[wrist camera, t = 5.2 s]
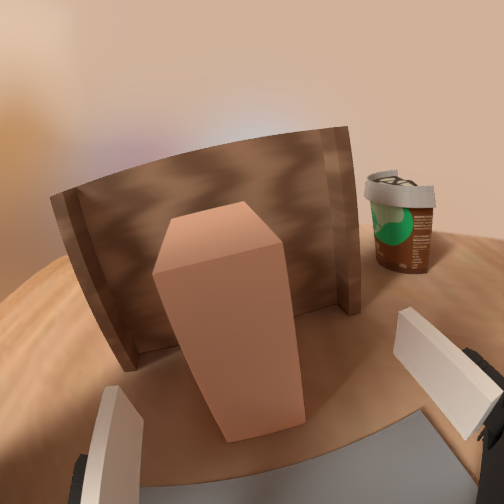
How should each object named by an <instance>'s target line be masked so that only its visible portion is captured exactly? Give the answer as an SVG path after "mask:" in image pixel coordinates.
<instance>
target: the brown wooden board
mask: <svg viewBox="0 0 504 504" xmlns="http://www.w3.org/2000/svg"><path fill="white" fill-rule="evenodd" d="M50 200H51V204H52V207H53V211H54V214H55V217H56V221H57V224H58V227H59V230H60V233H61V236H62V239H63V242H64V245H65V248H66V250H67V253H68V256H69V259H70V261H71V264H72V267H73V269H74V272H75V274H76V277H77V279H78V281H79V284H80V286H81V288H82V291H83V293H84V295H85V298H86V300H87V302H88V304H89V306H90V308H91V310H92V313H93V315H94V317H95V319H96V321H97V323H98V325H99V327H100V329H101V331H102V333H103V335H104V336H105V338H106V340H107V342H108V344H109V346H110V348H111V349H112V351H113V353H114V355H115V356H116V358H117V360H118V362H119V363H120V365H121V367H122V368H123V370H124V372H128V371H134V370H136V368H137V363H138V358H139V353H142V352H147V351H153V350H158V349H163V348H168V347H173V346H178V345H179V343H178V340H177V338H176V336H175V333H174V331H173V328H172V326H171V323H170V321H169V318H168V316H167V313H166V311H165V308H164V306H163V303H162V300H161V298H160V295H159V292H158V290H157V287H156V284H155V281H154V278H153V276H152V273H153V270H154V267H155V264H156V261H157V258H158V255H159V252H160V249H161V246H162V243H163V240H164V238H165V235H166V232H167V229H168V227H169V224H170V221H171V219H173V218H177V217H181V216H184V215H188V214H192V213H196V212H200V211H204V210H209V209H213V208H217V207H221V206H225V205H230V204H234V203H238V202H243V201H244V202H245V203H246V204H247V205H248V206H249V207H250V208H251V209H252V210H253V211H254V212H255V213H256V214H257V215H258V216H259V217H260V219H261V220H262V221H263V222H264V223H265V224H266V225H267V226H268V227H269V228H270V229H271V230H272V231H273V232H274V233H275V235H276V236H277V237H278V238H279V239H280V240H281V241H282V242H283V248H284V254H285V261H286V268H287V274H288V281H289V288H290V295H291V302H292V309H293V317H294V316H297V315H300V314H304V313H307V312H310V311H314V310H317V309H320V308H323V307H326V306H329V305H333V304H336V303H338V304H339V305H340V306H341V307H342V309H343V310H344V311H345V312H346V313H347V314H348V315H349V316H351V315H354V314H357V313H359V312H360V311H361V268H360V239H359V222H358V208H357V196H356V186H355V177H354V169H353V160H352V152H351V145H350V138H349V131H348V126H344V127H333V128H325V129H317V130H308V131H300V132H293V133H286V134H278V135H272V136H266V137H260V138H254V139H248V140H243V141H237V142H232V143H227V144H223V145H218V146H213V147H209V148H204V149H200V150H196V151H191V152H187V153H183V154H179V155H175V156H171V157H168V158H164V159H160V160H157V161H153V162H150V163H147V164H143V165H140V166H136V167H133V168H130V169H127V170H124V171H121V172H117V173H114V174H112V175H108V176H105V177H102V178H99V179H97V180H94V181H91V182H88V183H86V184H83V185H80V186H78V187H75V188H72V189H69V190H67V191H64V192H61V193H59V194H56V195H54V196H51V197H50Z"/></svg>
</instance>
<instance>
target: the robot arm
mask: <svg viewBox="0 0 504 504" xmlns="http://www.w3.org/2000/svg"><path fill="white" fill-rule="evenodd" d="M393 354H394V355H395V357H396V358H397V359H398V360H399V361H400V362H401V363H402V365H403V366H404V367H405V368H406V369H407V370H408V372H409V373H410V374H411V375H412V376H413V377H414V379H415V380H416V381H417V382H418V383H419V385H420V386H421V387H422V388H423V389H424V390H425V392H426V393H427V394H428V395H429V396H430V398H431V399H432V400H433V401H434V403H435V404H436V405H437V406H438V407H439V409H440V410H441V411H442V412H443V413H444V415H445V416H446V417H447V418H448V420H449V421H450V422H451V423H452V425H453V426H454V427H455V428H456V430H457V431H458V432H459V433H460V435H461V436H462V437H463V439H464V440H465V441H466V440H467V439H469V438H470V437H471V436H472V435H474V434H475V433H476V432H477V431H478V430H479V428H480V427H481V426H482V424H484V425H485V428H484V429H483V431H482V432H481V433H480V435H479V436H478V439H477V441H479V440H480V439H481V438H482V437H483V435H484V438H483V439H482V441H483V454H482V464H481V473H480V480H479V486H478V492H477V498H476V503H475V504H504V377H503V376H502V375H501V374H500V373H499V372H498V371H497V370H495V369H494V368H493V367H492V366H491V365H489V363H488V362H487V361H486V360H484V358H482V357H481V356H480V355H479V354H478V353H477V352H475V351H473V350H471V349H469V348H465V349H464V350H462V351H461V350H460V349H459V348H458V347H457V346H456V345H454V344H453V343H452V342H451V341H450V340H449V339H448V338H447V337H446V336H444V335H443V334H442V333H441V332H440V331H439V330H438V329H437V328H435V327H434V326H433V325H432V324H431V323H430V322H428V321H427V320H426V319H425V318H424V317H423V316H421V315H420V314H419V313H418V312H417V311H416V310H414V309H413V308H412V307H411V306H410V307H408V308H406V309H403V310H401V311H399V312H398V321H397V329H396V336H395V343H394V349H393ZM143 427H144V420H143V418H142V417H141V416H140V414H139V413H138V412H137V410H136V409H135V408H134V406H133V405H132V403H131V402H130V401H129V399H128V398H127V396H126V395H125V393H124V392H123V390H122V389H121V388H120V386H119V385H115V386H105V388H104V391H103V395H102V399H101V403H100V406H99V410H98V414H97V418H96V422H95V427H94V431H93V435H92V440H91V445H90V449H89V454H88V455H84V454H81V455H80V456H79V458H78V460H77V461H76V463H75V467H74V472H73V474H74V476H73V477H72V484H71V488H70V494H69V501H68V504H139V487H140V466H141V451H142V438H143Z"/></svg>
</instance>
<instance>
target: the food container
mask: <svg viewBox="0 0 504 504" xmlns="http://www.w3.org/2000/svg"><path fill="white" fill-rule="evenodd" d="M364 197H365V198H366V199H368V200H369V201H370V204H371V210H372V219H373V228H374V237H375V248H376V258H377V261H378V262H379V263H380V264H381V265H382V266H384V267H385V268H387V269H390V270H393V271H396V272H400V273H407V274H423V273H427V267H428V260H429V252H430V242H431V232H432V218H433V208H434V207H436V202H435V193H434V188H433V186H417V185H416V184H415V183H414V182H413V181H410V180H403V179H401V178H399V177H398V173H397V170H390V171H383V172H378V173H374V174H371V175H369V176H368V177H367V181H366V183H365V191H364Z"/></svg>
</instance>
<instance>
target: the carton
mask: <svg viewBox="0 0 504 504" xmlns="http://www.w3.org/2000/svg"><path fill="white" fill-rule="evenodd" d="M152 276H153V278H154V281H155V284H156V287H157V290H158V292H159V295H160V298H161V300H162V303H163V306H164V308H165V311H166V313H167V316H168V318H169V321H170V323H171V326H172V328H173V331H174V333H175V336H176V338H177V340H178V343H179V345H180V347H181V350H182V352H183V354H184V357H185V359H186V361H187V363H188V365H189V368H190V370H191V372H192V374H193V376H194V378H195V381H196V383H197V385H198V387H199V389H200V391H201V393H202V395H203V397H204V399H205V401H206V403H207V405H208V407H209V409H210V411H211V413H212V415H213V417H214V419H215V421H216V422H217V424H218V426H219V428H220V430H221V432H222V434H223V435H224V437H225V439H226V441H227V443H231V442H236V441H241V440H245V439H250V438H254V437H258V436H262V435H266V434H270V433H274V432H277V431H281V430H284V429H288V428H291V427H294V426H298V425H301V424H304V423H306V417H305V408H304V398H303V389H302V380H301V372H300V363H299V355H298V347H297V339H296V332H295V324H294V317H293V309H292V302H291V295H290V288H289V281H288V274H287V268H286V261H285V254H284V248H283V242H282V241H281V240H280V239H279V238H278V237H277V236H276V235H275V233H274V232H273V231H272V230H271V229H270V228H269V227H268V226H267V225H266V224H265V223H264V222H263V221H262V220H261V219H260V217H259V216H258V215H257V214H256V213H255V212H254V211H253V210H252V209H251V208H250V207H249V206H248V205H247V204H246V203H245V202H244V201H243V202H238V203H234V204H230V205H225V206H221V207H217V208H213V209H209V210H204V211H200V212H196V213H192V214H188V215H184V216H181V217H177V218H173V219H171V221H170V224H169V227H168V229H167V232H166V235H165V238H164V240H163V243H162V246H161V249H160V252H159V255H158V258H157V261H156V264H155V267H154V270H153V273H152Z"/></svg>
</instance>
